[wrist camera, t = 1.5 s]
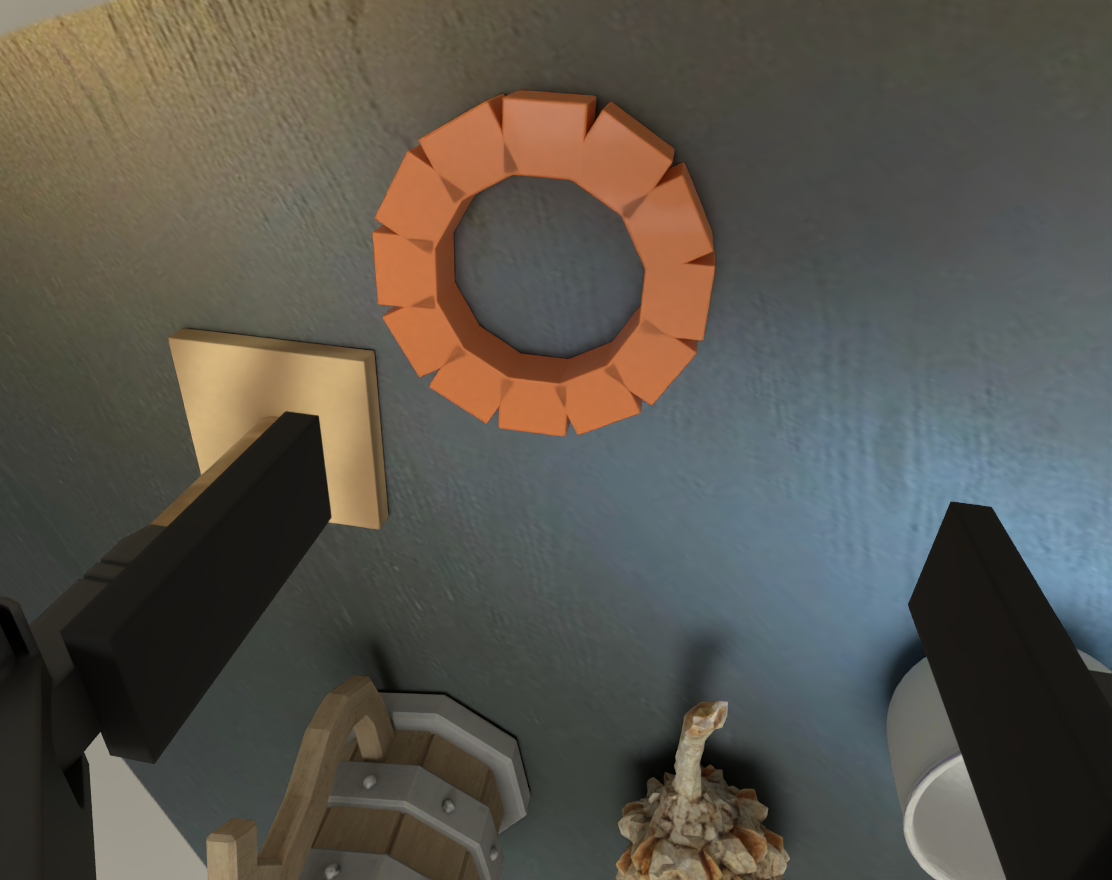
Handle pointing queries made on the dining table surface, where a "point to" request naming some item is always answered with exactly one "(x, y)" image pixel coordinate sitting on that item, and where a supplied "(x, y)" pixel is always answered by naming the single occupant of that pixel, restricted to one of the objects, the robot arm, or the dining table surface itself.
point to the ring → (606, 173)
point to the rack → (265, 394)
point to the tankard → (385, 796)
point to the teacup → (939, 783)
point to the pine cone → (699, 819)
